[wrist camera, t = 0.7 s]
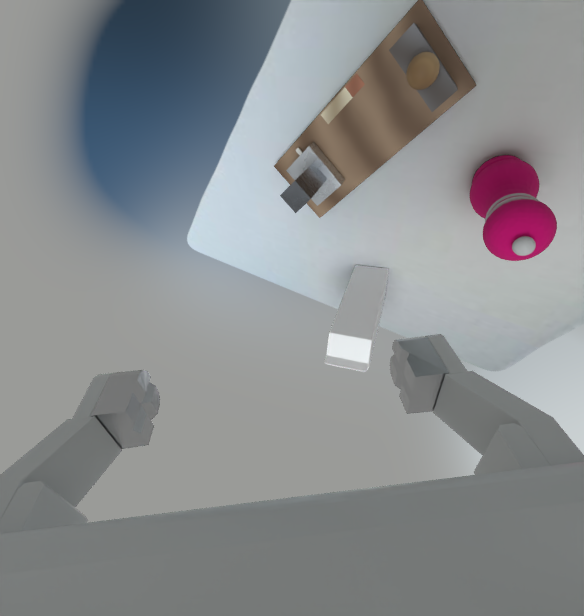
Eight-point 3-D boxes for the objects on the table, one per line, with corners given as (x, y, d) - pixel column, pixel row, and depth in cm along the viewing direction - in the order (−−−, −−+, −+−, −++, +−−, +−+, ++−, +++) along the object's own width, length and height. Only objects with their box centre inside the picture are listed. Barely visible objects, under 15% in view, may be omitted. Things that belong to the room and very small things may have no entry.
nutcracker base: (421, -2, 36) (416, -10, 29) (475, 83, 38) (482, 93, 32) (277, 163, 52) (253, 182, 46) (322, 214, 55) (305, 238, 49)
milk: (355, 264, 59) (323, 348, 43) (388, 268, 57) (368, 357, 41) (354, 290, 63) (323, 377, 47) (385, 295, 61) (365, 386, 45)
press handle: (308, 135, 46) (282, 155, 39) (345, 179, 49) (326, 205, 41) (286, 160, 50) (258, 182, 42) (321, 200, 52) (300, 228, 44)
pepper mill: (464, 207, 47) (474, 282, 33) (471, 154, 43) (485, 214, 28) (524, 204, 44) (563, 285, 30) (537, 147, 40) (590, 209, 26)
